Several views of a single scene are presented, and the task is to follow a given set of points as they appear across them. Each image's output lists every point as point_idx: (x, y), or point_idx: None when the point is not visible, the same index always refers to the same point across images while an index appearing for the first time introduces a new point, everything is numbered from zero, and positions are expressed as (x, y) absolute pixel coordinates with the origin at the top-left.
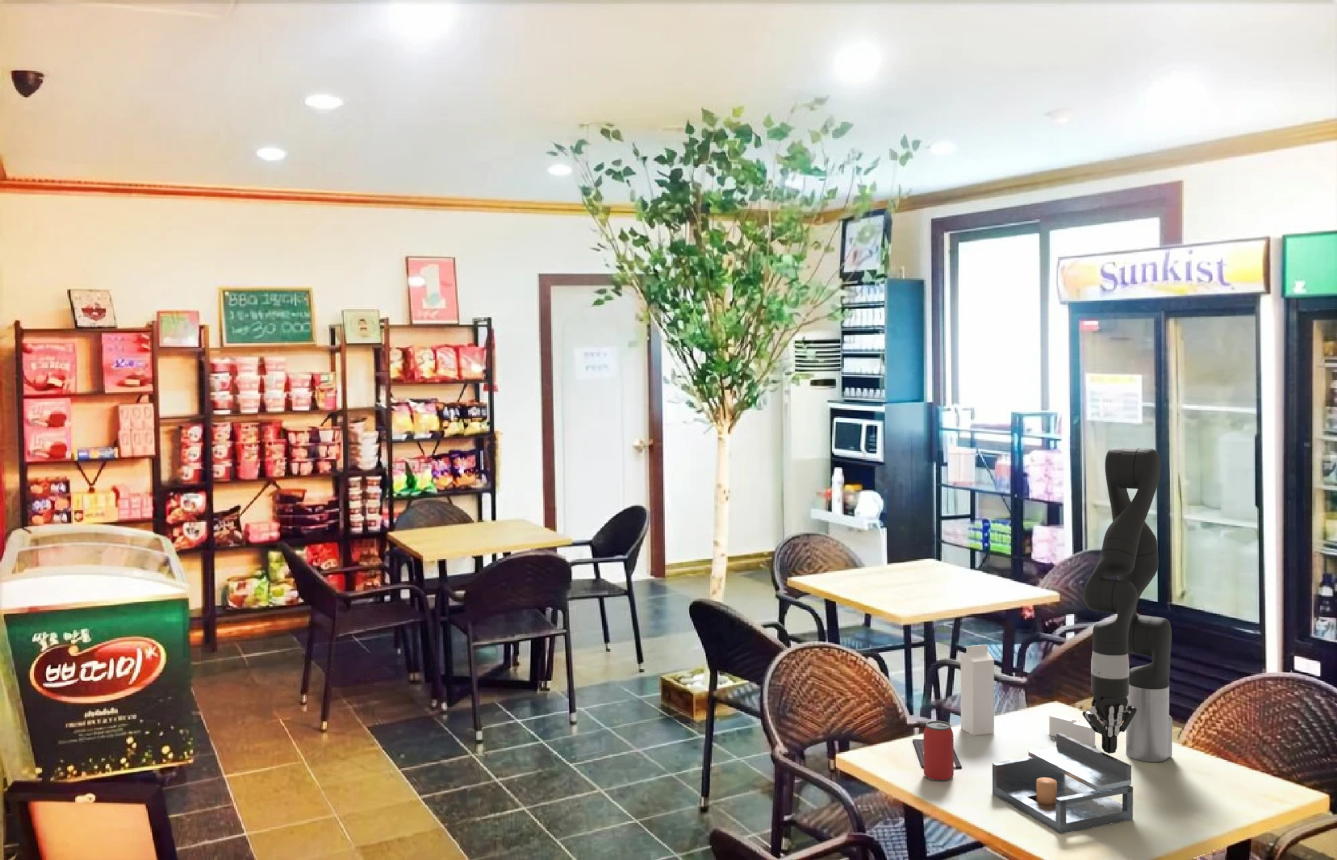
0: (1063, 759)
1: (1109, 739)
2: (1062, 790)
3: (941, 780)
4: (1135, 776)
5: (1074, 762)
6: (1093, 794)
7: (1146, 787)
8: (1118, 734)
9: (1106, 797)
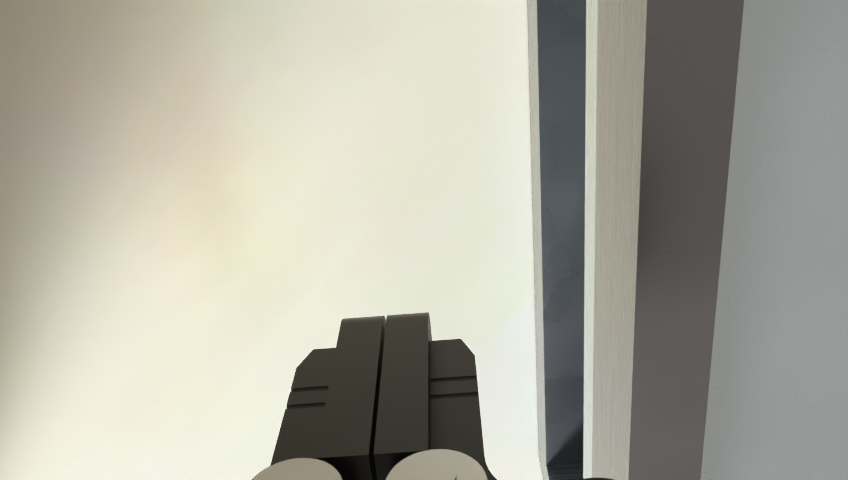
0: (825, 442)
1: (431, 439)
2: None
3: None
4: (21, 398)
5: (790, 355)
6: None
7: (39, 235)
8: (259, 477)
9: (553, 37)
